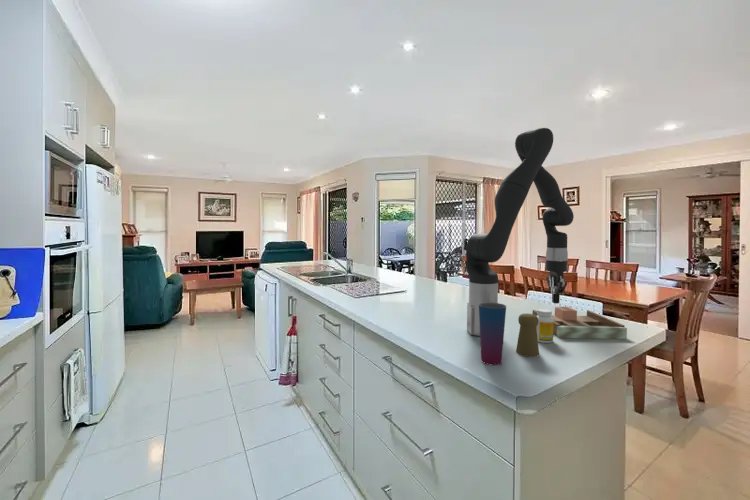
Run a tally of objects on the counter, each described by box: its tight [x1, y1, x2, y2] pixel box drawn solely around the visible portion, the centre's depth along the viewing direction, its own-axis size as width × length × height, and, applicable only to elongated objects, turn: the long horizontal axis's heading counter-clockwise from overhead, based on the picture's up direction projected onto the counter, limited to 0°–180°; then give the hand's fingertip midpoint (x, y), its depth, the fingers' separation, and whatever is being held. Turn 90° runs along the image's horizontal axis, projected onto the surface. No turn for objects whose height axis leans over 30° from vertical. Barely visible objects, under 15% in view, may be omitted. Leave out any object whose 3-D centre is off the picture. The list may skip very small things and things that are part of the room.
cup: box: [479, 302, 507, 365], centre depth 90 cm, size 7×7×15 cm
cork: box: [515, 313, 540, 358], centre depth 97 cm, size 6×6×11 cm
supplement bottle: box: [536, 308, 554, 344], centre depth 107 cm, size 5×5×10 cm
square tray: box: [532, 309, 628, 340], centre depth 120 cm, size 21×21×4 cm
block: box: [554, 306, 578, 320], centre depth 127 cm, size 5×6×4 cm
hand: (555, 303), depth 135 cm, fingers closed
